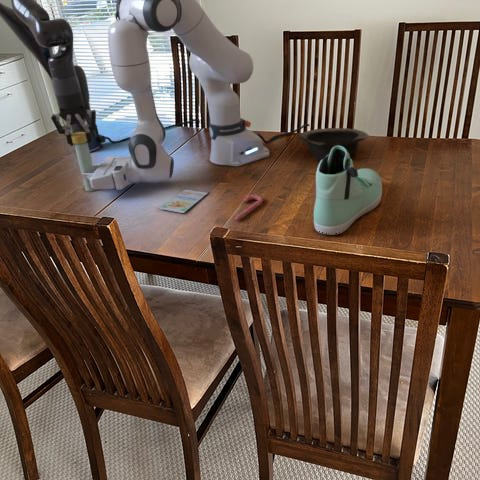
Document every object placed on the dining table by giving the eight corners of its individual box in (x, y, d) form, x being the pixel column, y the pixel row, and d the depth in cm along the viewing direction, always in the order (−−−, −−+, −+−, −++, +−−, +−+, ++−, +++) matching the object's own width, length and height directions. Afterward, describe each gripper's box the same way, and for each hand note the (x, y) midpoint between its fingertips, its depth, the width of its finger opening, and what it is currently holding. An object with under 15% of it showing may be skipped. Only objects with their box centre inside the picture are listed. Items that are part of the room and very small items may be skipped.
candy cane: (221, 217, 140) (221, 213, 139) (250, 196, 150) (250, 192, 149) (238, 222, 136) (238, 217, 136) (266, 200, 146) (266, 196, 146)
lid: (89, 141, 154) (87, 134, 153) (73, 144, 152) (71, 138, 151) (86, 137, 158) (85, 130, 157) (71, 140, 156) (69, 133, 155)
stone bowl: (326, 172, 161) (325, 145, 157) (286, 155, 181) (284, 131, 177) (383, 154, 170) (384, 128, 165) (339, 140, 190) (339, 116, 186)
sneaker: (389, 187, 148) (396, 123, 138) (356, 242, 123) (361, 168, 112) (346, 181, 154) (350, 119, 144) (306, 232, 129) (307, 161, 118)
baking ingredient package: (158, 207, 146) (184, 188, 157) (159, 209, 146) (185, 189, 158) (183, 212, 142) (208, 192, 154) (183, 213, 143) (208, 193, 154)
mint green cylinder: (97, 185, 166) (85, 134, 156) (98, 189, 162) (86, 137, 153) (85, 187, 165) (72, 136, 155) (86, 192, 161) (72, 139, 152)
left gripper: (41, 96, 143) (56, 150, 151) (90, 91, 144) (102, 145, 153) (45, 90, 149) (59, 143, 158) (92, 85, 151) (104, 137, 159)
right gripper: (131, 150, 167) (92, 152, 168) (116, 173, 149) (72, 175, 150) (134, 166, 170) (96, 168, 171) (120, 192, 153) (77, 194, 154)
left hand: (81, 143), depth 155 cm, fingers closed on lid, 5 cm apart
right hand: (85, 172), depth 161 cm, fingers closed on mint green cylinder, 4 cm apart
